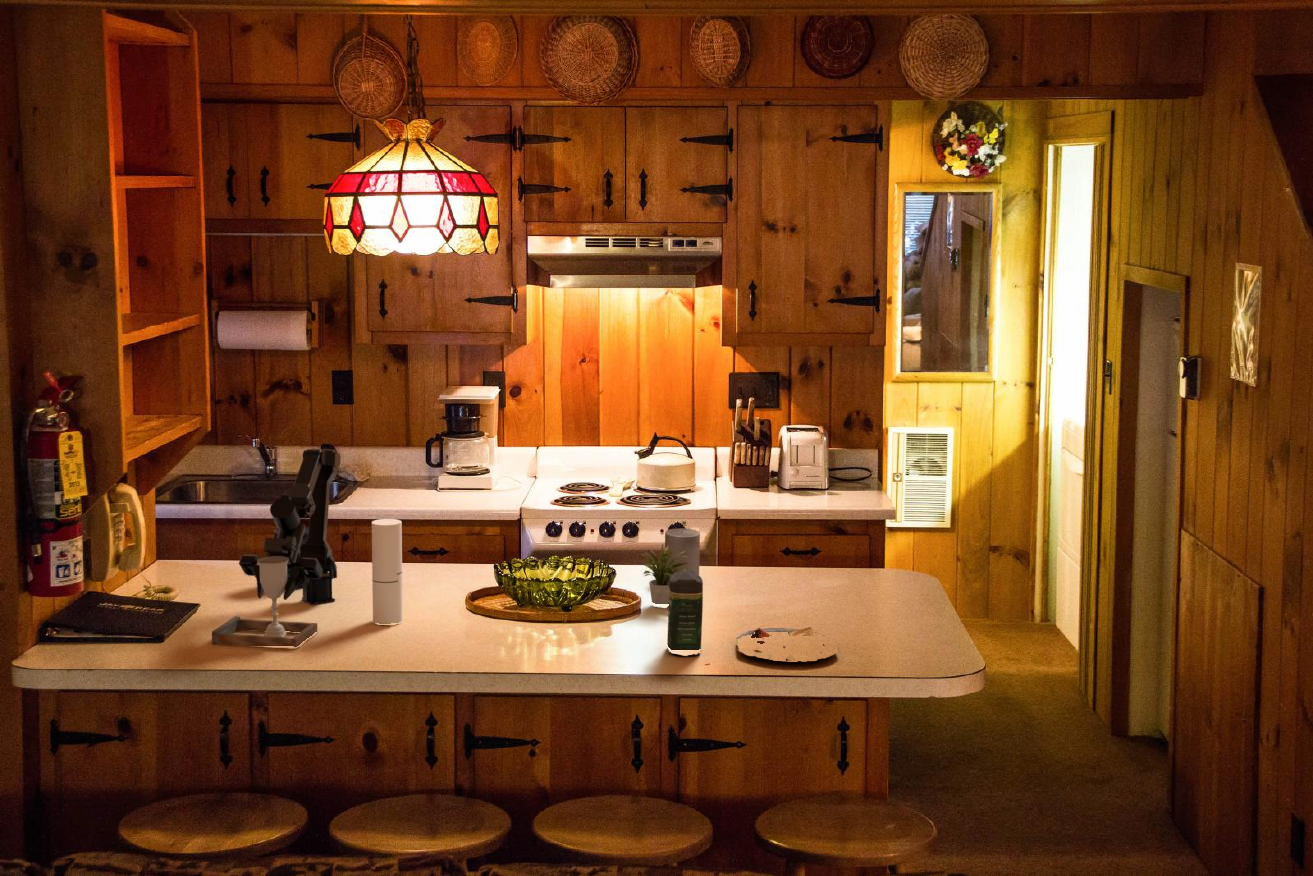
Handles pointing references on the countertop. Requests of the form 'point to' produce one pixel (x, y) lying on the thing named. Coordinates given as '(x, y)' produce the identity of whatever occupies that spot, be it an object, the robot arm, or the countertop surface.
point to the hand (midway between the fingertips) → (271, 598)
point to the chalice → (273, 587)
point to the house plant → (662, 574)
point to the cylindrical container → (387, 571)
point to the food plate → (762, 632)
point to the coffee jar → (685, 611)
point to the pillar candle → (684, 548)
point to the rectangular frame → (226, 636)
